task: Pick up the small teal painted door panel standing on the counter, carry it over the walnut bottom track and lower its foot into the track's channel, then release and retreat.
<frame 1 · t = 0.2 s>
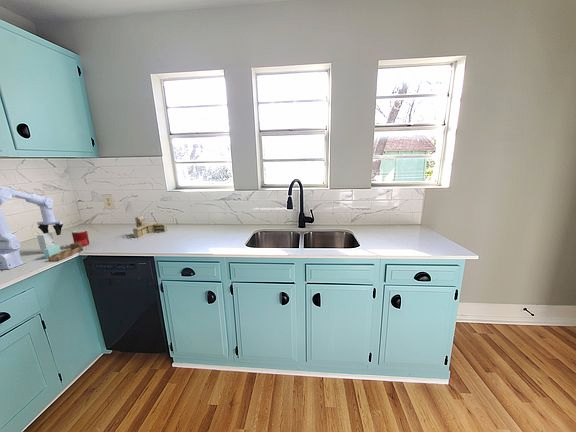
hand: (52, 235, 162), 10 cm above the counter, fingers open, 7 cm apart
skincare box: (48, 251, 160), on the counter
toy kitchen set: (151, 234, 194), on the counter
canned food: (82, 245, 170), on the counter
track: (67, 255, 152), on the counter
door panel: (53, 256, 151), on the counter
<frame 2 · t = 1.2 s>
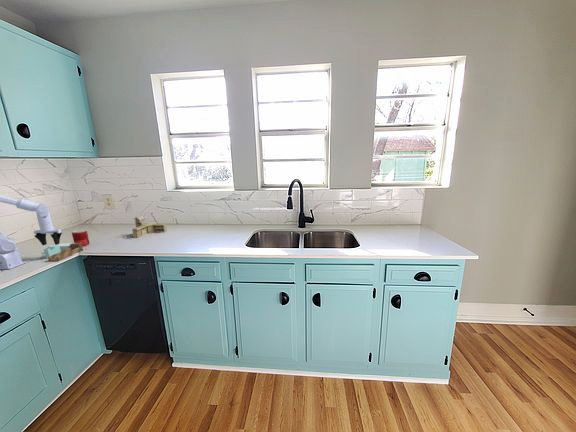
hand: (51, 244, 150), 8 cm above the counter, fingers open, 7 cm apart
skincare box: (52, 248, 159), point 2 cm above the counter
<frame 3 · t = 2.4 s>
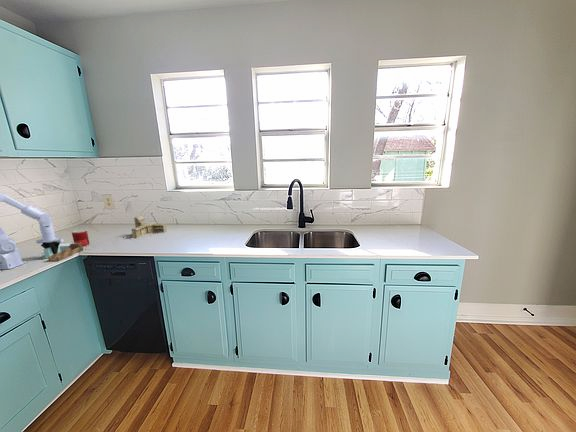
hand: (53, 253, 151), 2 cm above the counter, fingers closed on door panel, 2 cm apart
door panel: (53, 256, 151), on the counter, touching gripper
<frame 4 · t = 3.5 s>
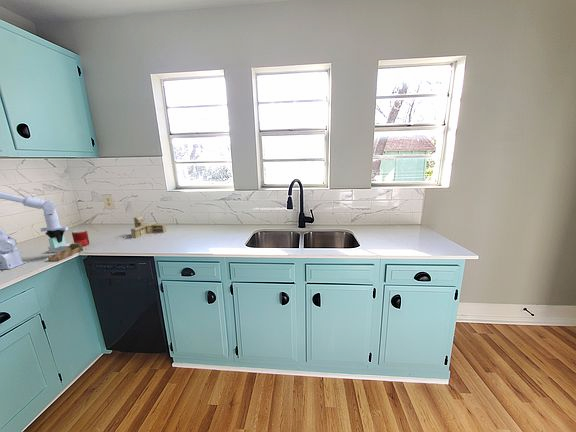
hand: (57, 242, 150), 9 cm above the counter, fingers closed on door panel, 2 cm apart
door panel: (58, 246, 150), point 6 cm above the counter, touching gripper
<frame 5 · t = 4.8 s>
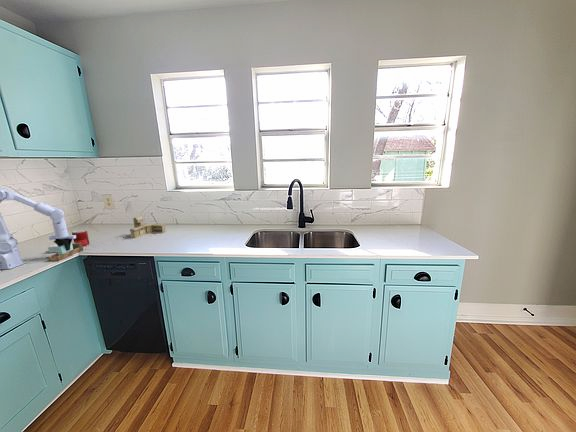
hand: (65, 250, 151), 4 cm above the counter, fingers closed on door panel, 2 cm apart
door panel: (66, 254, 151), point 1 cm above the counter, touching gripper, track
when the fingers open (4 cm above the counter, at t = 5.0 s): door panel stays where it is, resting on track.
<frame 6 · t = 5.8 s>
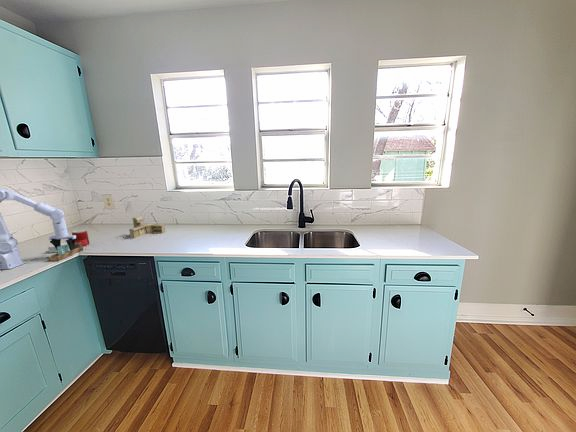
hand: (65, 250, 151), 4 cm above the counter, fingers open, 7 cm apart
door panel: (66, 254, 151), point 1 cm above the counter, touching track
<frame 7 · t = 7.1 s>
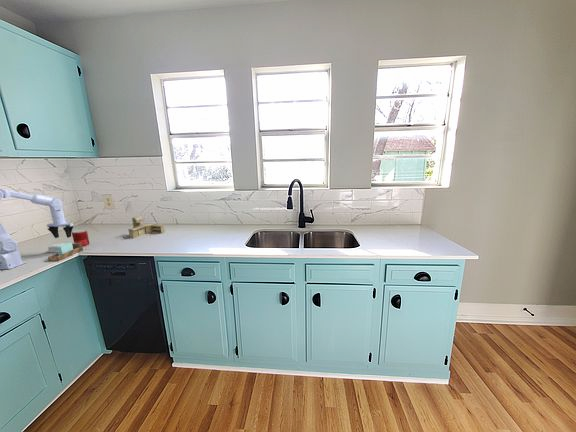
hand: (63, 237, 156), 10 cm above the counter, fingers open, 7 cm apart
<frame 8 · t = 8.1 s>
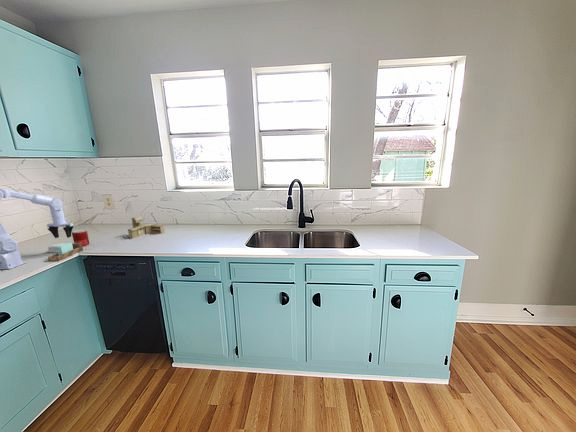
hand: (63, 237, 156), 10 cm above the counter, fingers open, 7 cm apart
at the end: door panel inside the target area on the track (1.0 cm from its centre), point 1.0 cm above the track's base; door panel tilted 0°; the gripper is holding nothing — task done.
